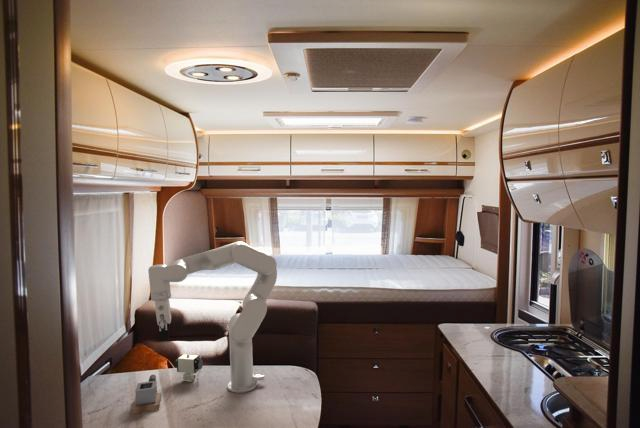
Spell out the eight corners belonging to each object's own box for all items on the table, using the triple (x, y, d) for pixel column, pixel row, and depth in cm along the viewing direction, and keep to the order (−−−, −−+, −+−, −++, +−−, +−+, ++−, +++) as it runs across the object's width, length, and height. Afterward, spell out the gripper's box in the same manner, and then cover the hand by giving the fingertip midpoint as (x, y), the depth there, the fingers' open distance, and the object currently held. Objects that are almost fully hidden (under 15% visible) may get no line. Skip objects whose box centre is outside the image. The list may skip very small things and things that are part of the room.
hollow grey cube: (157, 394, 167) (156, 380, 167) (155, 403, 160) (154, 388, 160) (138, 397, 165) (137, 383, 165) (136, 406, 158) (135, 391, 158)
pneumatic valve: (198, 383, 180) (197, 357, 179) (174, 382, 182) (173, 355, 181) (204, 378, 185) (203, 352, 184) (181, 376, 187) (180, 350, 187)
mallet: (164, 378, 185) (164, 367, 185) (159, 409, 159) (158, 395, 159) (141, 382, 182) (140, 370, 182) (131, 414, 156) (130, 400, 156)
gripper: (169, 298, 158) (174, 341, 159) (171, 288, 175) (175, 327, 176) (148, 301, 156) (153, 345, 157) (153, 291, 172) (157, 330, 174)
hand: (165, 336), depth 167 cm, fingers open, 9 cm apart
